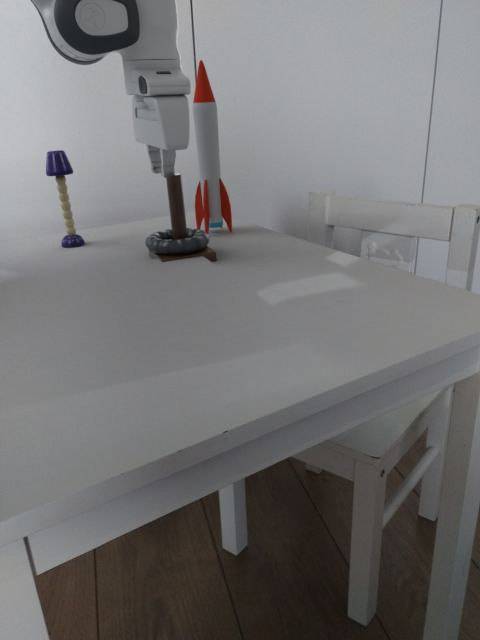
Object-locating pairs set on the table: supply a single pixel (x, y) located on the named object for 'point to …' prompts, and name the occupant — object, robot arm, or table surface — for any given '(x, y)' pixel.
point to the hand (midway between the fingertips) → (162, 175)
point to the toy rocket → (208, 158)
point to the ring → (177, 242)
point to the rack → (179, 221)
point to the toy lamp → (63, 194)
